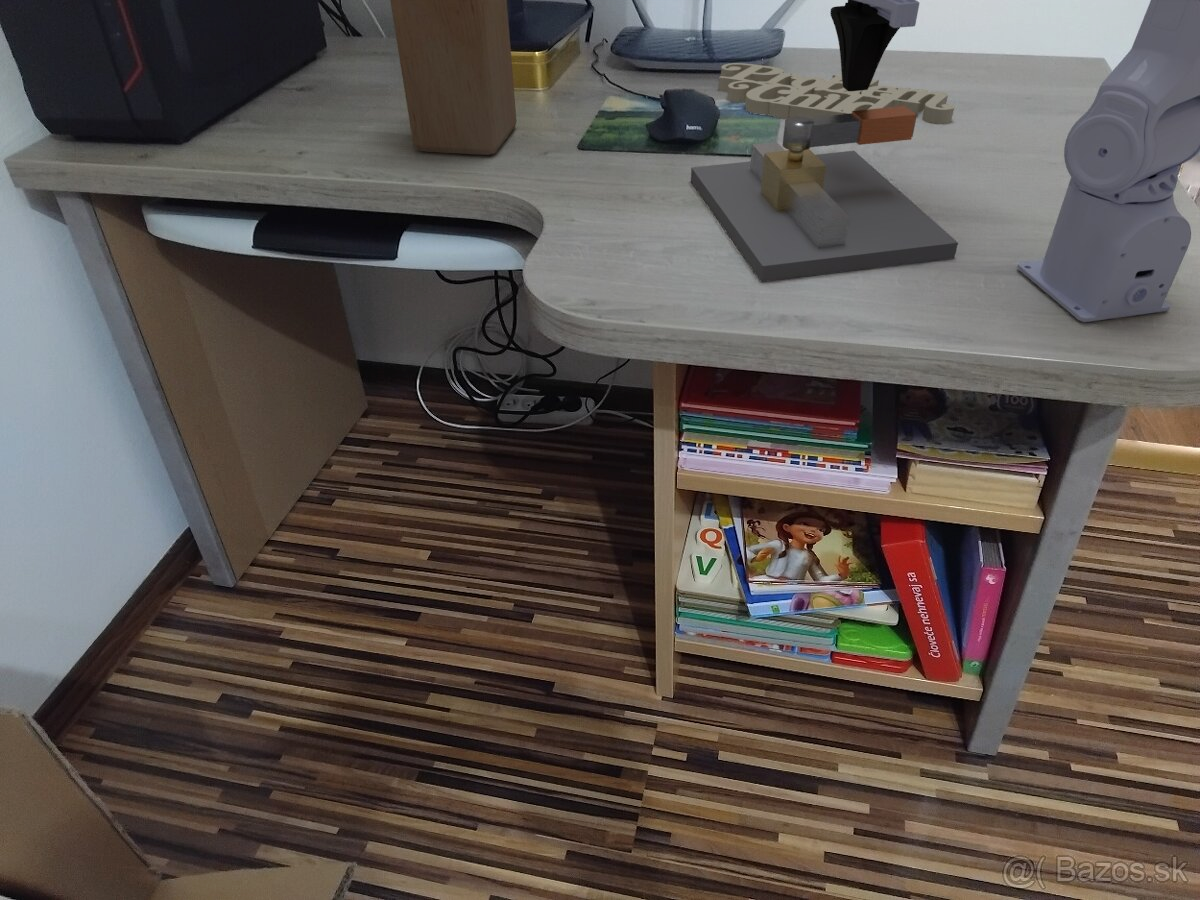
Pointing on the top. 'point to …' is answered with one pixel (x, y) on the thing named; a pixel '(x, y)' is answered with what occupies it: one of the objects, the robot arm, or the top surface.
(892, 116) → the valve lever
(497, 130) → the block
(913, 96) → the decorative sign
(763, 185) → the ball valve
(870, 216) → the mounting board
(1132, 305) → the robot arm
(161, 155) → the top surface
